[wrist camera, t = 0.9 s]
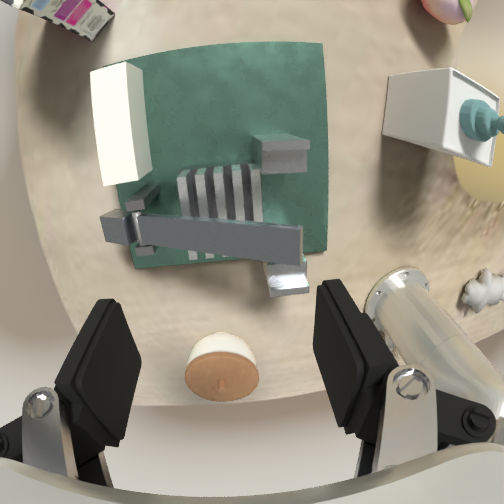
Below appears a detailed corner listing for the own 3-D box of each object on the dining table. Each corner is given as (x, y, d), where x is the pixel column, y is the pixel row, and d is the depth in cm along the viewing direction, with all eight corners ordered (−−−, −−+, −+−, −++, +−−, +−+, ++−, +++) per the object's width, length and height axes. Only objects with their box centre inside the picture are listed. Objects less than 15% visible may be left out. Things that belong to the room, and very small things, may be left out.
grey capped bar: (305, 260, 24) (297, 274, 22) (121, 235, 32) (106, 244, 30) (305, 218, 22) (297, 229, 20) (114, 206, 31) (99, 214, 29)
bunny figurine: (478, 279, 41) (523, 272, 40) (465, 265, 45) (510, 260, 44) (464, 320, 45) (509, 309, 44) (453, 305, 50) (498, 297, 49)
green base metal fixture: (324, 247, 40) (353, 290, 30) (137, 265, 39) (112, 312, 29) (319, 45, 28) (355, 20, 18) (106, 67, 27) (62, 53, 17)
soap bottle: (430, 149, 34) (532, 184, 17) (381, 134, 33) (487, 161, 16) (437, 94, 31) (541, 104, 14) (388, 74, 30) (495, 64, 13)
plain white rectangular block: (152, 169, 32) (138, 180, 27) (122, 174, 32) (103, 186, 27) (142, 69, 27) (125, 61, 22) (111, 77, 27) (90, 71, 21)
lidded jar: (265, 332, 46) (273, 376, 37) (238, 373, 49) (241, 415, 41) (202, 311, 43) (197, 356, 34) (180, 356, 47) (175, 399, 38)
